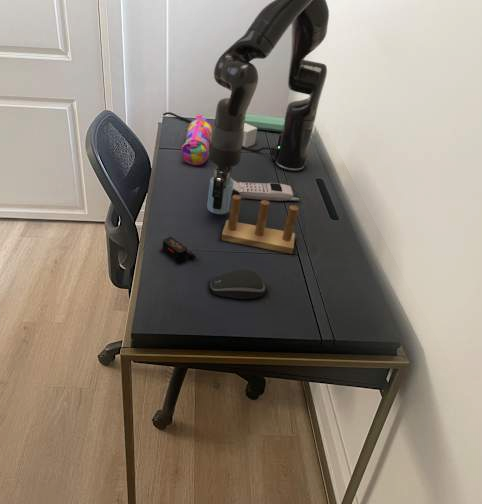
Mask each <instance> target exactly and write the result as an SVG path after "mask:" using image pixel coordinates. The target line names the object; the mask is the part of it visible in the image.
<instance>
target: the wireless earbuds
mask: <svg viewBox="0 0 482 504" xmlns="http://www.w3.org/2000/svg"><path fill="white" fill-rule="evenodd" d="M162 251H163V253H165V254H166V255H168V257H170V258H171V259H173V260H174V261H175V262H177V263H183V262H184V261H186V260H187V258H188V259H189V260H191V259H196V255H195V254H194V253H193V251H190V250H188V247H186V246H185V245H184V244H182V243H181V242H179V241H178V240H177V239H176V238H174V237H173V236H168V237H166V238H164V239H162Z"/></svg>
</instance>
